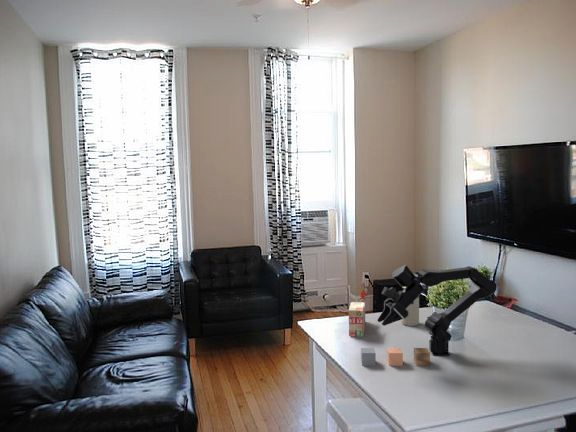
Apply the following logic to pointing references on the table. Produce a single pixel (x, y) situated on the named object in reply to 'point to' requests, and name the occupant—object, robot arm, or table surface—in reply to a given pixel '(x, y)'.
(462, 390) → the table surface
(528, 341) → the table surface
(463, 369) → the table surface
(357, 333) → the stack of blocks
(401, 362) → the terracotta cube
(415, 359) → the walnut cube
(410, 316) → the travel mug
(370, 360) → the grey cube
